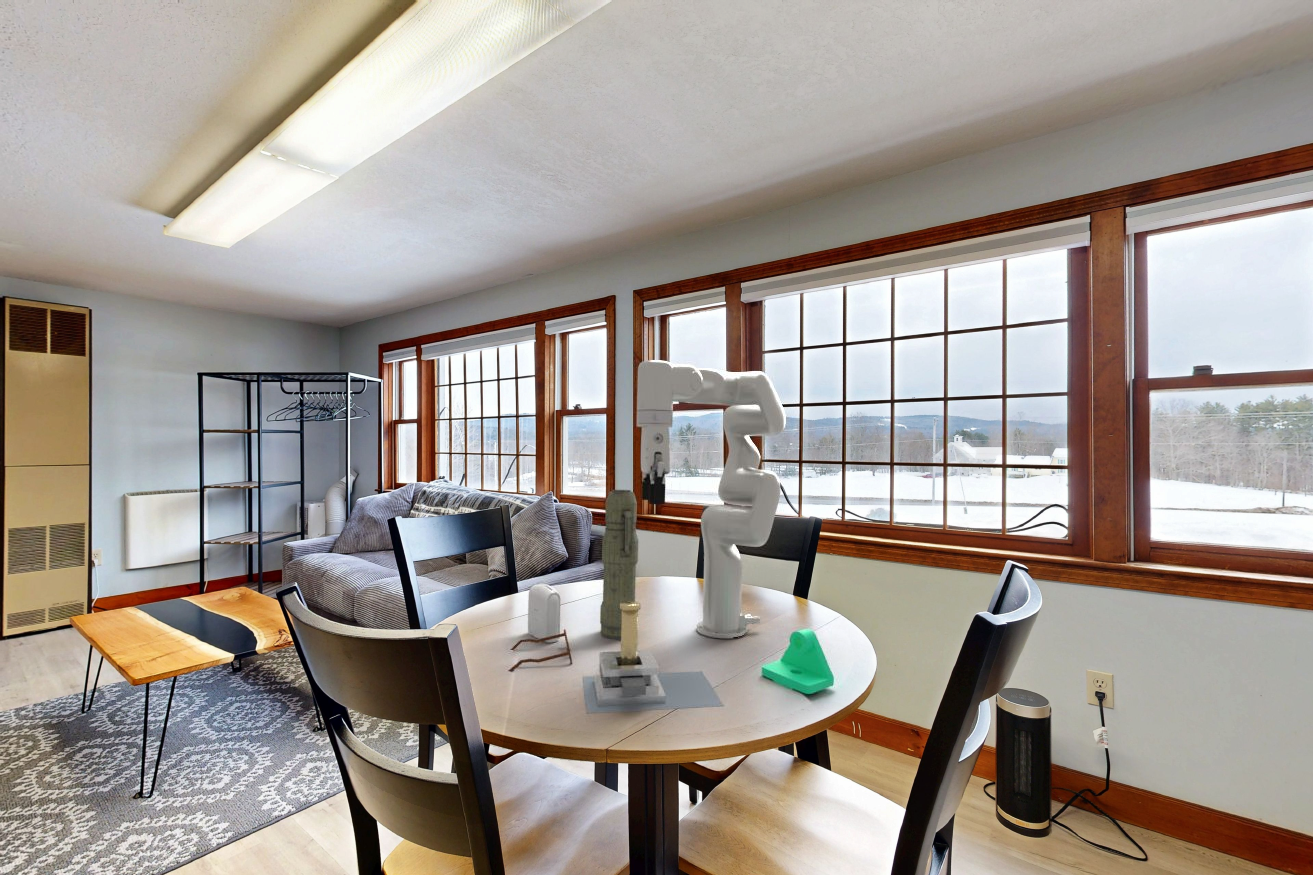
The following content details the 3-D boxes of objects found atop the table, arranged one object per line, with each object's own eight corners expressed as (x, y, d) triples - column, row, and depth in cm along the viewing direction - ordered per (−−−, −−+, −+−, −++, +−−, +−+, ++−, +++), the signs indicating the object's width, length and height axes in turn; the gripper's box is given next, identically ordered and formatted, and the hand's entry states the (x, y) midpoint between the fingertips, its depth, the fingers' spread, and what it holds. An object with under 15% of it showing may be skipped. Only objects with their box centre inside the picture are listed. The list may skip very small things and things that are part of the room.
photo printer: (525, 633, 142) (526, 581, 143) (540, 629, 145) (542, 579, 145) (545, 644, 134) (547, 590, 135) (562, 641, 137) (563, 588, 137)
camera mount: (759, 679, 117) (760, 627, 118) (784, 671, 122) (785, 621, 122) (808, 700, 108) (809, 644, 108) (833, 691, 112) (834, 637, 113)
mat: (701, 674, 119) (701, 671, 119) (724, 709, 103) (724, 705, 103) (582, 679, 115) (582, 676, 115) (586, 716, 99) (586, 713, 99)
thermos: (623, 624, 151) (626, 488, 152) (645, 637, 141) (648, 491, 142) (591, 628, 147) (595, 488, 148) (612, 643, 137) (615, 492, 137)
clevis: (655, 678, 115) (655, 649, 115) (668, 708, 101) (669, 675, 101) (593, 681, 112) (594, 651, 113) (598, 712, 99) (599, 679, 99)
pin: (637, 680, 110) (638, 601, 111) (640, 688, 107) (641, 606, 107) (616, 680, 110) (618, 601, 110) (619, 689, 106) (621, 606, 106)
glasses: (573, 670, 121) (573, 645, 121) (507, 674, 118) (508, 649, 118) (568, 648, 134) (568, 626, 134) (509, 651, 131) (509, 629, 131)
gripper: (680, 418, 115) (679, 506, 115) (664, 422, 132) (662, 498, 132) (643, 417, 114) (641, 505, 113) (631, 421, 131) (629, 498, 130)
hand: (652, 501), depth 123 cm, fingers open, 9 cm apart
